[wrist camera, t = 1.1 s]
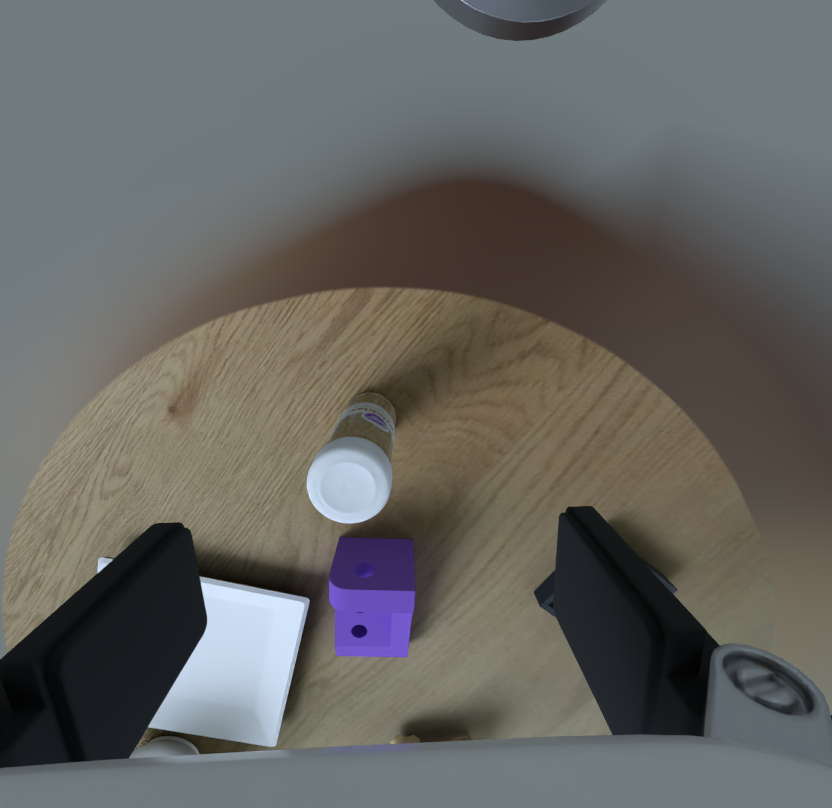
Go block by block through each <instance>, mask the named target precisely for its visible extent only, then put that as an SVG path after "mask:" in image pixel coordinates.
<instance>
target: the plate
mask: <svg viewBox="0 0 832 808" xmlns="http://www.w3.org/2000/svg"><path fill="white" fill-rule="evenodd" d="M113 559H114V558H110V557H101V558H100V559H98V572H97V574H98V573H99V572H100V571H101V570H102V569H103V568H104V567H105V566H107V565H108V564H109V563H110V562H111V561H112V560H113ZM199 577H200V582H201V587H202V592H203V598H204V603H205V608H206V613H207V626H206V630H205V632H204V634H203V636H202V638H201V640H200V641H199V643H198V645H197V646H196V648H195V650H194V651H193V653H192V654H191V656H190V658H189V659H188V661H187V663H186V664H185V666H184V668H183V669H182V671H181V673H180V674H179V676H178V678H177V679H176V681H175V683H174V684H173V686H172V688H171V689H170V691H169V693H168V694H167V696H166V698H165V699H164V701H163V703H162V704H161V706H160V708H159V709H158V711H157V713H156V714H155V716H154V717H153V719H152V721H151V722H150V724H149V726H148V727H150V728H156V729H163V730H169V731H175V732H181V733H187V734H193V735H200V736H206V737H212V738H218V739H224V740H231V741H237V742H243V743H249V744H255V745H261V746H268V747H274V746H276V743H277V739H278V735H279V730H280V726H281V722H282V718H283V713H284V709H285V705H286V701H287V696H288V692H289V688H290V684H291V679H292V675H293V671H294V666H295V662H296V658H297V654H298V649H299V645H300V641H301V637H302V632H303V628H304V624H305V619H306V615H307V611H308V607H309V602H310V600H309V599H308V598H307V597H306V596H302V595H297V594H292V593H287V592H282V591H277V590H272V589H267V588H262V587H257V586H252V585H247V584H242V583H237V582H232V581H227V580H222V579H217V578H211V577H206V576H201V575H199Z"/></svg>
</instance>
